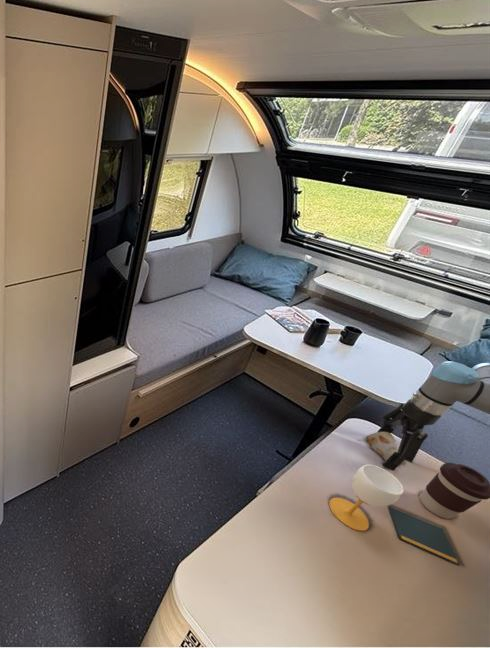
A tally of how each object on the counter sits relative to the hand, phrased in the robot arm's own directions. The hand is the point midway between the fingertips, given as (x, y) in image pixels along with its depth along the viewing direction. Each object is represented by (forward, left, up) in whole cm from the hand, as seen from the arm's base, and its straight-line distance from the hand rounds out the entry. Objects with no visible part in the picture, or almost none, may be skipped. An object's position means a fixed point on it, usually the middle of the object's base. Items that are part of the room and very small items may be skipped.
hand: (382, 453), depth 117 cm
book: (-2, +28, 0) cm, 28 cm away
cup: (+15, +32, -1) cm, 35 cm away
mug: (0, 0, -1) cm, 1 cm away
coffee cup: (-9, +15, -1) cm, 18 cm away
